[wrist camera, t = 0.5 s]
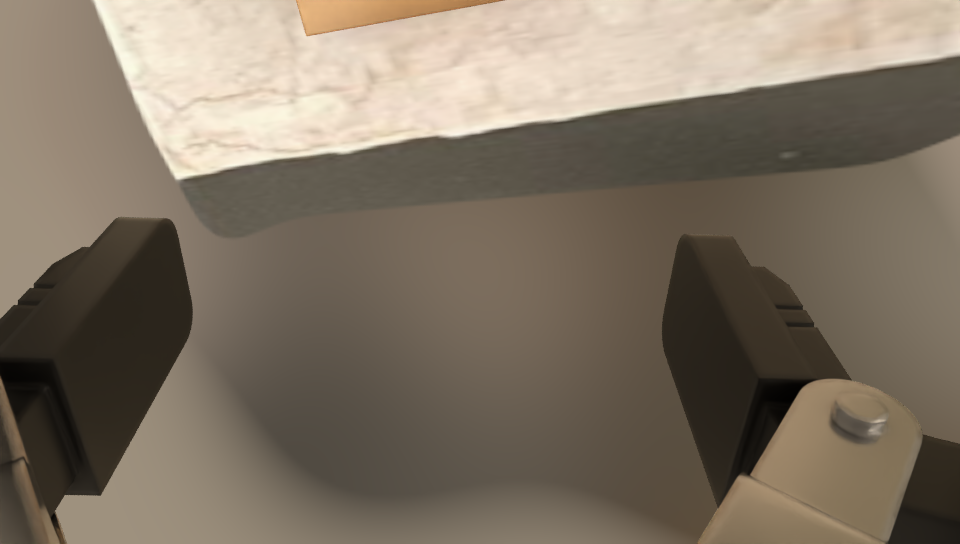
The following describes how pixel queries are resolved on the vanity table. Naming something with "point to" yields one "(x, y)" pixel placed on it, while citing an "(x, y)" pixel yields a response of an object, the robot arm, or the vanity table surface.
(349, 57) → the vanity table surface
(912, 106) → the vanity table surface
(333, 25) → the maple block
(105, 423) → the robot arm
